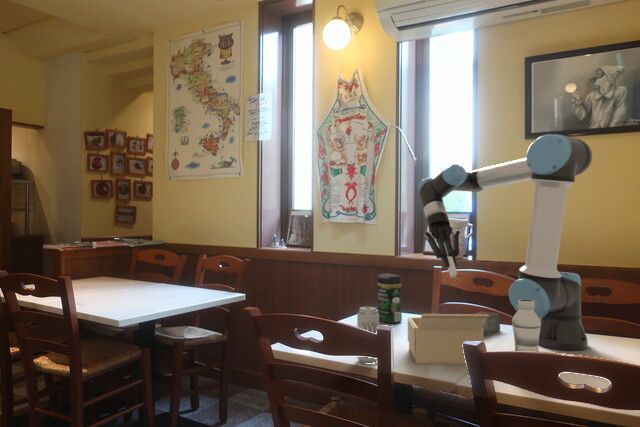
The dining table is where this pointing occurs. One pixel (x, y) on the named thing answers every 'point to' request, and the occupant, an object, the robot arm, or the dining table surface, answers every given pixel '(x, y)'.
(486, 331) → the beverage carton
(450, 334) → the kraft box
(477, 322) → the long flap
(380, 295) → the coffee jar
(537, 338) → the plastic bottle
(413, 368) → the dining table surface
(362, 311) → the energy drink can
